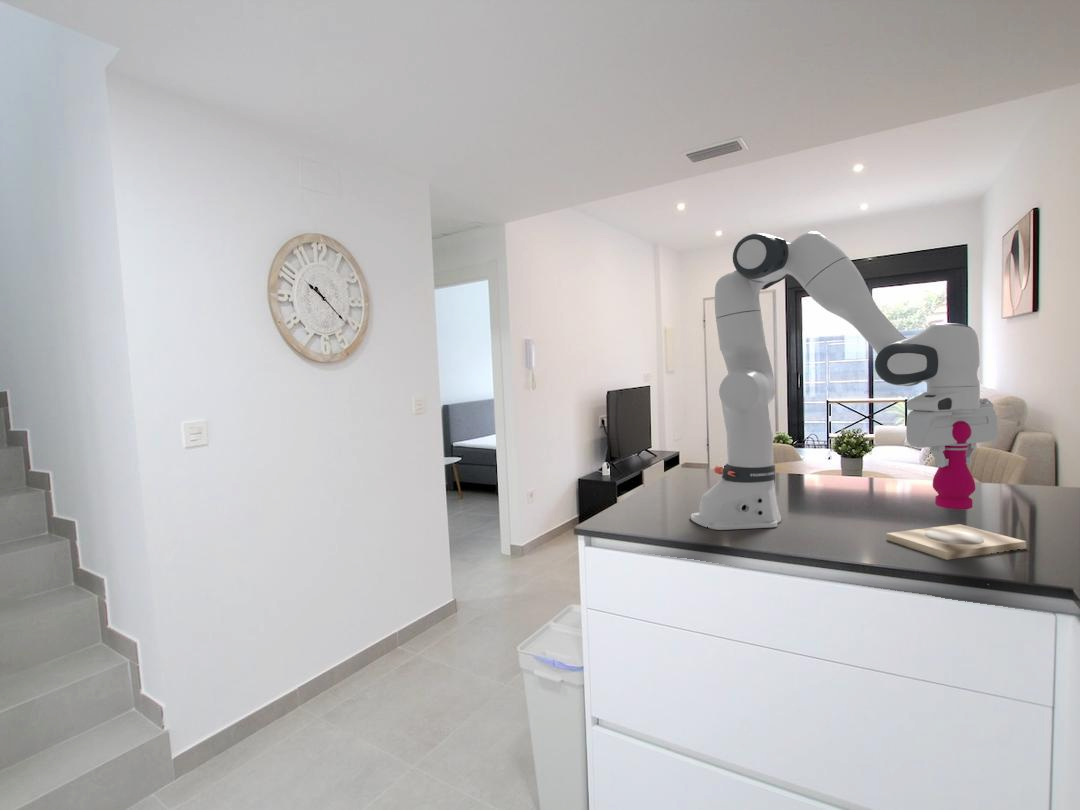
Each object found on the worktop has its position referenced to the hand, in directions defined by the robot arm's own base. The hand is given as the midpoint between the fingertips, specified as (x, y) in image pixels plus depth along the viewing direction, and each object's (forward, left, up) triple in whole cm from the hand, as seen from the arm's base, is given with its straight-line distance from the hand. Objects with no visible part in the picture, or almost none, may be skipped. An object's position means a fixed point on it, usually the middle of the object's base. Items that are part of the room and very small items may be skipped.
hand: (953, 465), depth 115 cm
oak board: (0, 0, -17) cm, 17 cm away
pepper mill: (0, 0, -9) cm, 9 cm away
